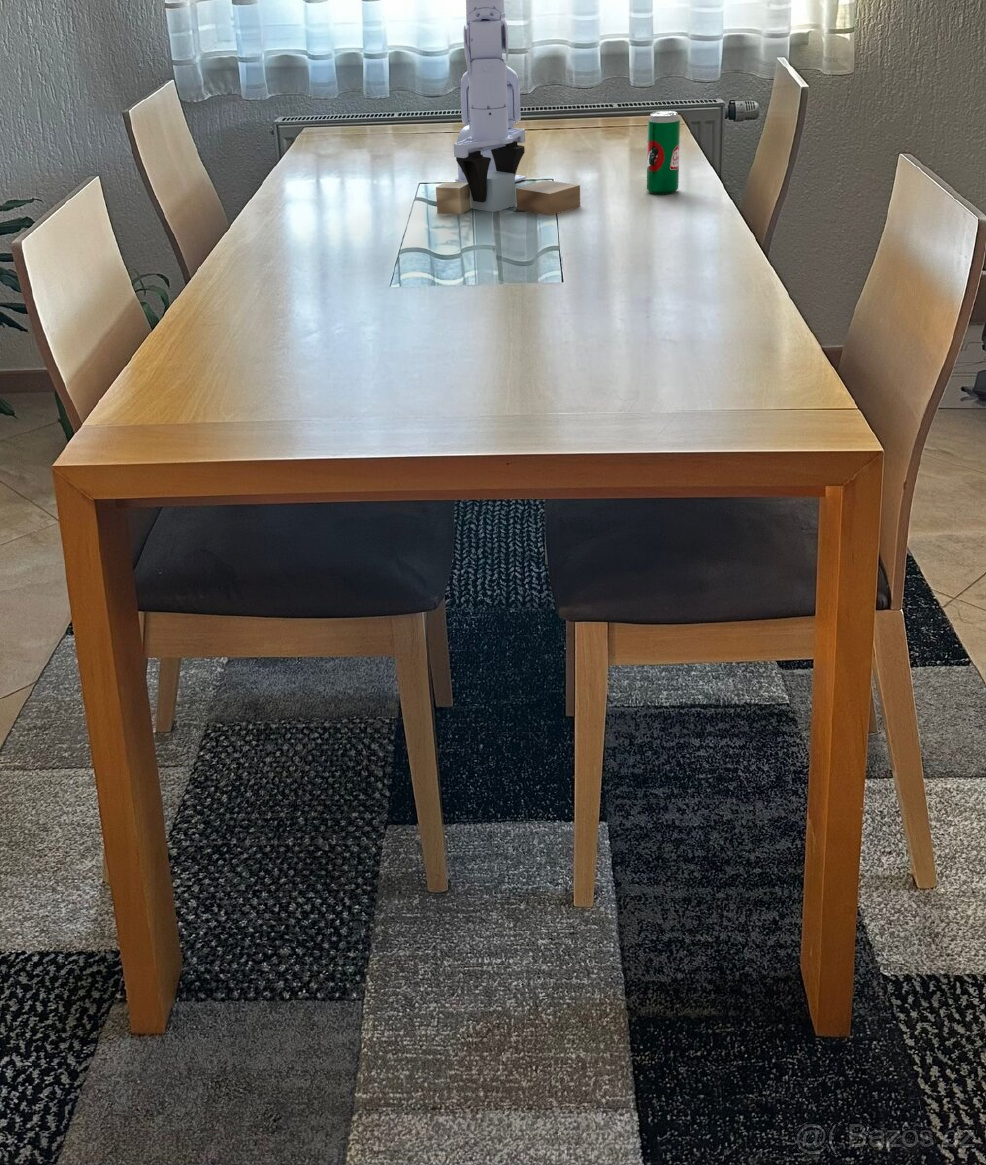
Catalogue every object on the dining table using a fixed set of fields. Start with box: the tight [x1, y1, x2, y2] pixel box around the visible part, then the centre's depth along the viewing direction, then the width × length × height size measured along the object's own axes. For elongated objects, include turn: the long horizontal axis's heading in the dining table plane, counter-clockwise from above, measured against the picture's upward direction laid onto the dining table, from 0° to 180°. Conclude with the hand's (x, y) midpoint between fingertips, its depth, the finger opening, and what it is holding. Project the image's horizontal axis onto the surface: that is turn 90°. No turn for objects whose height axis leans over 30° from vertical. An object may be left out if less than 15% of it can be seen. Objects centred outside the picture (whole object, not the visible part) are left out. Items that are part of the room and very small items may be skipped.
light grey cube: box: [470, 170, 516, 213], centre depth 201 cm, size 5×5×5 cm
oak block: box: [435, 181, 472, 215], centre depth 201 cm, size 4×4×4 cm
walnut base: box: [515, 179, 581, 216], centre depth 200 cm, size 7×7×4 cm
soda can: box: [646, 110, 681, 196], centre depth 204 cm, size 5×5×12 cm
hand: (492, 197), depth 202 cm, fingers open, 6 cm apart
